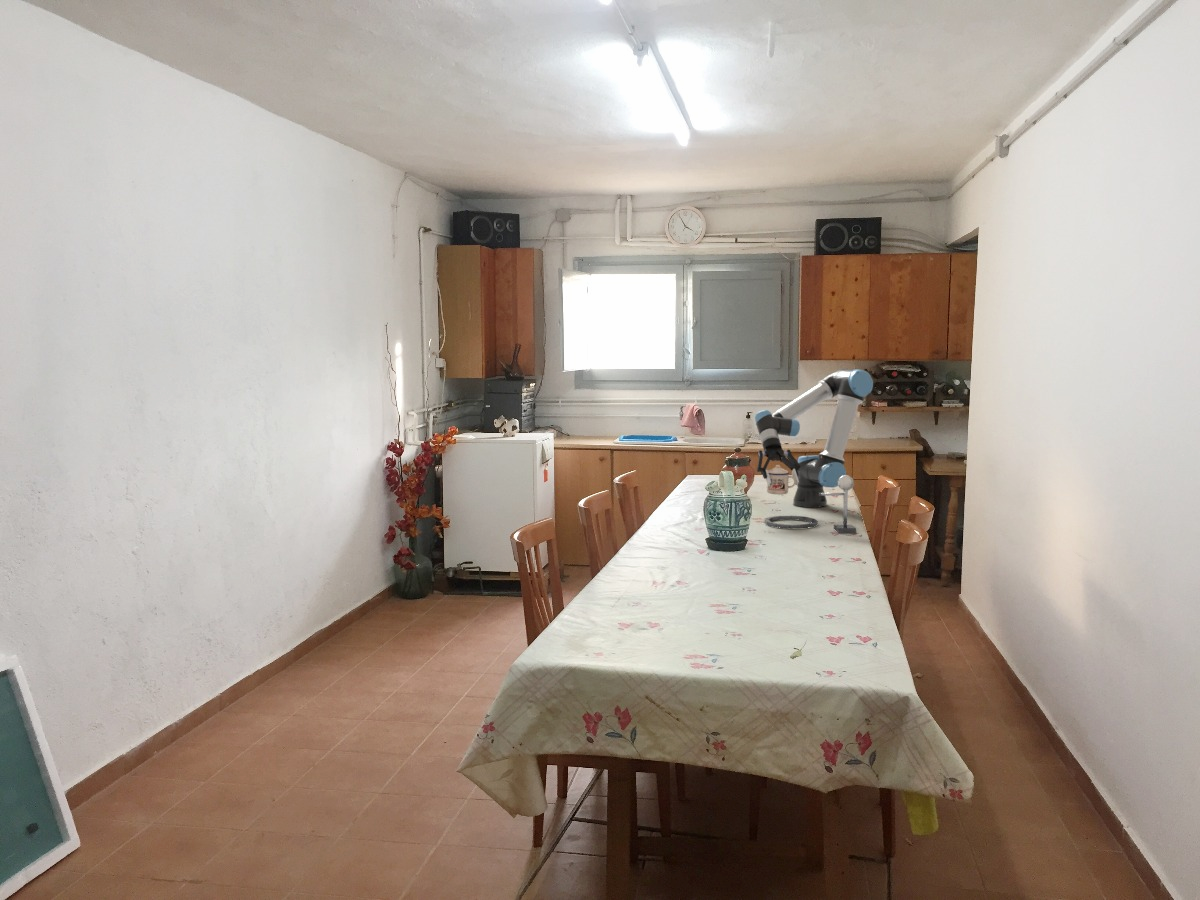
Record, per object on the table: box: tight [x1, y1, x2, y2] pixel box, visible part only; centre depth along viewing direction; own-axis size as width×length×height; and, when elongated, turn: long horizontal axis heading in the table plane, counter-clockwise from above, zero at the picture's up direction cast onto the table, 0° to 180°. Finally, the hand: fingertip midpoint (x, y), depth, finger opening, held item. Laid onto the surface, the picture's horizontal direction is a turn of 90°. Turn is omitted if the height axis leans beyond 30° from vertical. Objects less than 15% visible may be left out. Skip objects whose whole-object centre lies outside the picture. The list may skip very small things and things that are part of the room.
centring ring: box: [764, 515, 819, 529], centre depth 374 cm, size 21×21×2 cm
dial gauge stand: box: [819, 474, 857, 534], centre depth 357 cm, size 14×7×22 cm, turn 90°
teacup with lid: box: [766, 464, 796, 495], centre depth 374 cm, size 12×9×12 cm
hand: (783, 483), depth 372 cm, fingers closed on teacup with lid, 11 cm apart
